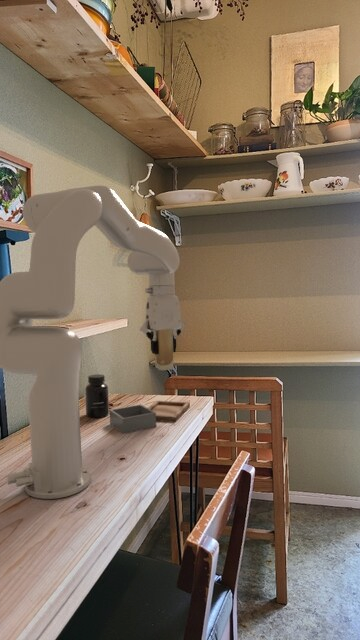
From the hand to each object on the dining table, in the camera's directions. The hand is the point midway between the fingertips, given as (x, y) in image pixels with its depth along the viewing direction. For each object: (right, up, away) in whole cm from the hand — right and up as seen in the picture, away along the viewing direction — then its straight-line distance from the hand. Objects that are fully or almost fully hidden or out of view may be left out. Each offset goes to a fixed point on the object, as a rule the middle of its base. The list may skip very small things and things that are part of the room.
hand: (163, 352), depth 132 cm
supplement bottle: (-20, -19, +2) cm, 28 cm away
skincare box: (0, -5, 0) cm, 5 cm away
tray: (+1, -19, +2) cm, 19 cm away
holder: (-8, -20, -9) cm, 23 cm away
